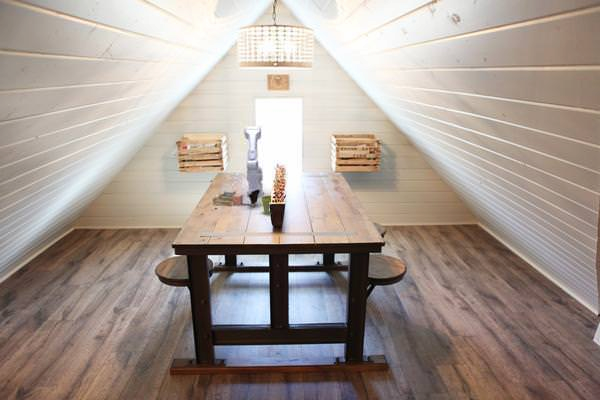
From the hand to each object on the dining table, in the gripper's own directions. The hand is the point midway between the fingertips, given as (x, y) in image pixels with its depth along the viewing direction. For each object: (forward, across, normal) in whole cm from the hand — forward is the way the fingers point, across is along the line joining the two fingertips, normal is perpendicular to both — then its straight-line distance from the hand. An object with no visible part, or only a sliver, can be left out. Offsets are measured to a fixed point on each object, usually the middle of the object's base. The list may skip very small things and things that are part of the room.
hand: (254, 202), depth 264 cm
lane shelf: (+2, +4, +18) cm, 18 cm away
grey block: (+2, +8, +18) cm, 20 cm away
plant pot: (+2, -10, -13) cm, 16 cm away
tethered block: (+2, 0, +6) cm, 6 cm away
